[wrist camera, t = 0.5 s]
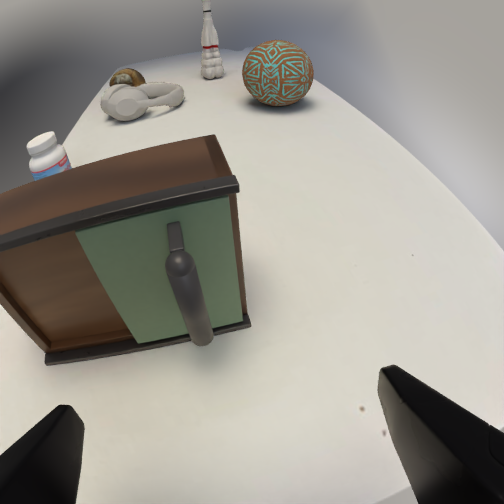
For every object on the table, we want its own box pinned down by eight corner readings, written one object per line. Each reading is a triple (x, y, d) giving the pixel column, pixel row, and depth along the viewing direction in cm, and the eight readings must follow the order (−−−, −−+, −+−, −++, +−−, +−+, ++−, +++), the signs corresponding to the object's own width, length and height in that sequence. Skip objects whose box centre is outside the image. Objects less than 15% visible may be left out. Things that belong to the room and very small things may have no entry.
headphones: (117, 130, 60) (197, 111, 71) (114, 95, 55) (197, 80, 66) (95, 115, 70) (163, 99, 81) (92, 86, 65) (162, 73, 76)
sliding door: (255, 359, 25) (245, 240, 16) (141, 383, 23) (64, 281, 14) (241, 315, 28) (226, 191, 19) (137, 338, 26) (75, 226, 17)
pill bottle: (72, 212, 41) (45, 145, 33) (42, 215, 42) (14, 153, 34) (87, 188, 46) (65, 125, 38) (57, 192, 46) (35, 133, 38)
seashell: (111, 101, 80) (105, 77, 75) (113, 93, 87) (108, 71, 81) (148, 91, 82) (143, 66, 77) (147, 85, 89) (143, 62, 83)
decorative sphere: (315, 97, 69) (317, 38, 59) (308, 119, 59) (309, 47, 49) (254, 93, 73) (251, 36, 62) (235, 113, 63) (230, 45, 52)
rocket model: (219, 80, 84) (211, -15, 62) (196, 81, 86) (186, -12, 64) (228, 74, 88) (222, -15, 67) (207, 75, 90) (199, -12, 69)
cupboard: (251, 327, 28) (239, 183, 17) (46, 365, 25) (-47, 260, 14) (230, 261, 33) (214, 129, 23) (54, 300, 30) (-11, 193, 20)
